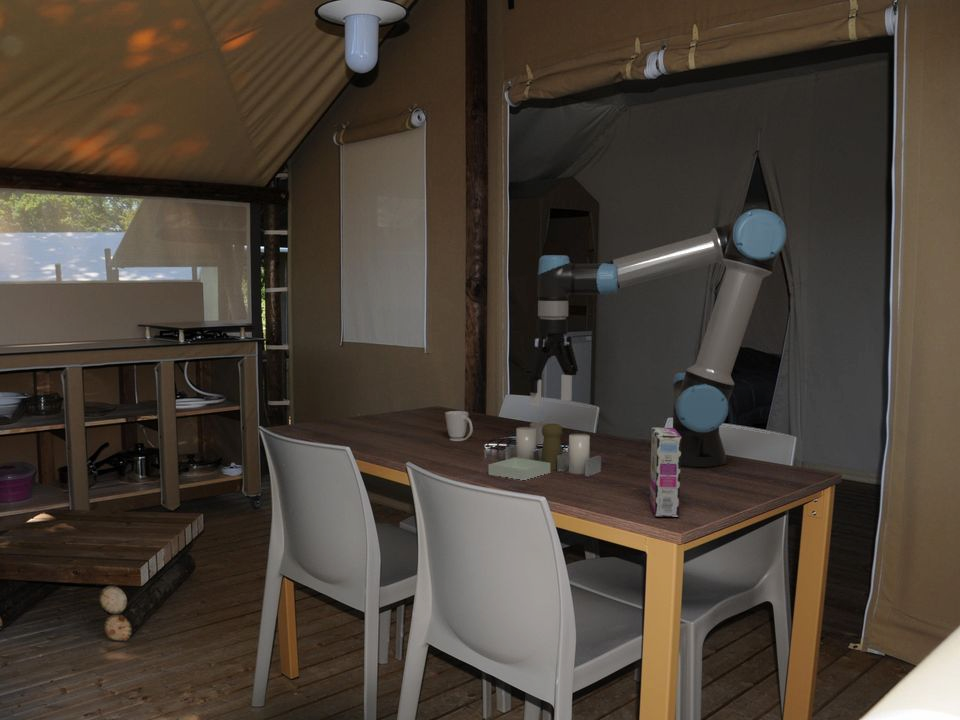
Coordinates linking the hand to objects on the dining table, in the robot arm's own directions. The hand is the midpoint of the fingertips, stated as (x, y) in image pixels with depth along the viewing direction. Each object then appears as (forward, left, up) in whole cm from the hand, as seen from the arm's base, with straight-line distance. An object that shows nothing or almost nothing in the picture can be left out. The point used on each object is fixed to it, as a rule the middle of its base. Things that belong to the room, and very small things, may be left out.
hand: (551, 403), depth 212 cm
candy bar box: (-41, +20, -16) cm, 49 cm away
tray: (+2, +11, -16) cm, 20 cm away
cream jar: (-8, 0, -16) cm, 18 cm away
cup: (+42, -14, -16) cm, 47 cm away
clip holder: (0, 0, -16) cm, 16 cm away
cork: (0, 0, -16) cm, 16 cm away
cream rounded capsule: (+8, 0, -16) cm, 18 cm away
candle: (+17, -22, -16) cm, 32 cm away
